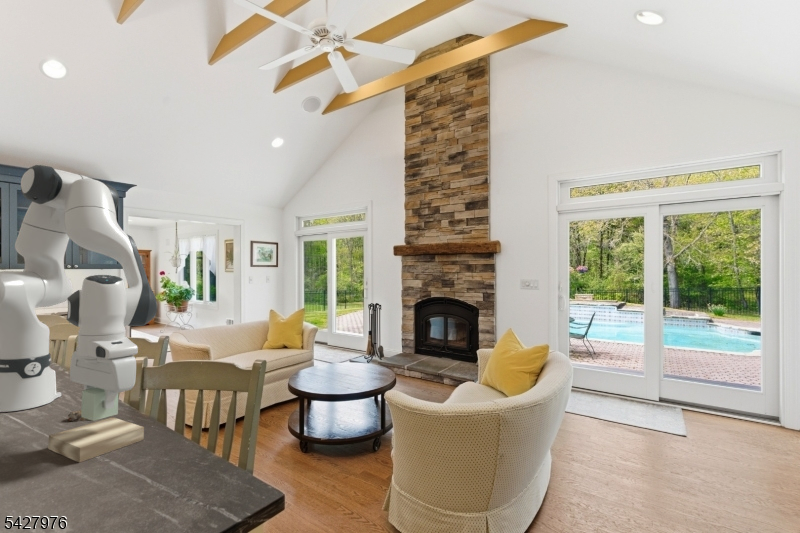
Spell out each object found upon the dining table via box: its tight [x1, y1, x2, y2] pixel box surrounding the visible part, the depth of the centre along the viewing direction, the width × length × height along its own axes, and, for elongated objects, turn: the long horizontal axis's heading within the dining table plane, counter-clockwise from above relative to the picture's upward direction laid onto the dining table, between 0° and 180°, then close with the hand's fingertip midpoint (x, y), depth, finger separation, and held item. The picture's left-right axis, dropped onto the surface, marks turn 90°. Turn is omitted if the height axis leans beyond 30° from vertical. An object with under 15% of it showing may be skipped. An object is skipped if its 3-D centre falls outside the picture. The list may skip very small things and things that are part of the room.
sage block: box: [81, 388, 119, 422], centre depth 91 cm, size 5×5×6 cm
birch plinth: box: [47, 416, 145, 463], centre depth 91 cm, size 13×13×3 cm
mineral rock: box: [67, 409, 90, 422], centre depth 108 cm, size 11×4×8 cm
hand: (100, 405), depth 91 cm, fingers closed on sage block, 5 cm apart
